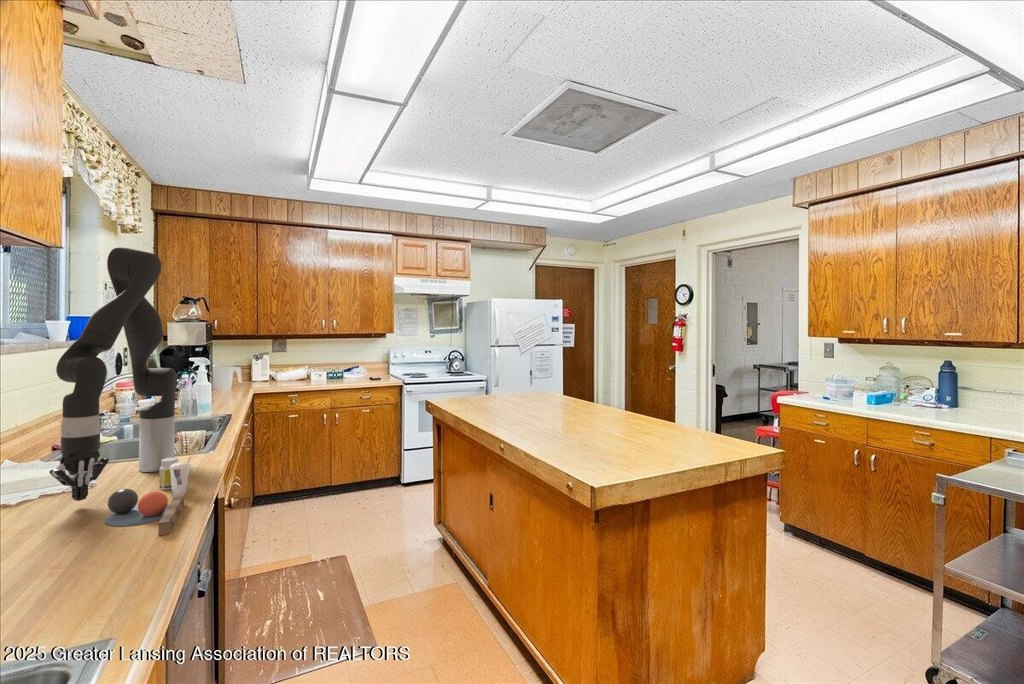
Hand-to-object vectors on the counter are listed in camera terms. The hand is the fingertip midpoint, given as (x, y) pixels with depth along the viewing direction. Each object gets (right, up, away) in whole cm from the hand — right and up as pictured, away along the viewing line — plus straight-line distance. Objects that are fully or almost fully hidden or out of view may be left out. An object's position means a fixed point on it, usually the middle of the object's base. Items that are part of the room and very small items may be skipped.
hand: (80, 499), depth 122 cm
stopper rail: (+28, -3, -5) cm, 28 cm away
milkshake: (+18, -3, +12) cm, 22 cm away
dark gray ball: (+13, 0, -3) cm, 14 cm away
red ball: (+22, 0, -4) cm, 22 cm away
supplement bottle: (+11, -2, +17) cm, 20 cm away
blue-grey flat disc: (+19, -3, -4) cm, 19 cm away
